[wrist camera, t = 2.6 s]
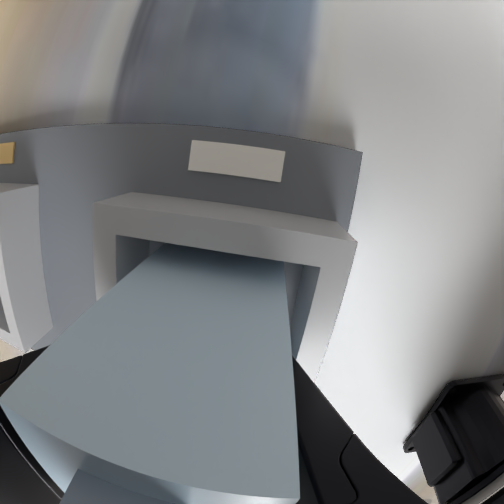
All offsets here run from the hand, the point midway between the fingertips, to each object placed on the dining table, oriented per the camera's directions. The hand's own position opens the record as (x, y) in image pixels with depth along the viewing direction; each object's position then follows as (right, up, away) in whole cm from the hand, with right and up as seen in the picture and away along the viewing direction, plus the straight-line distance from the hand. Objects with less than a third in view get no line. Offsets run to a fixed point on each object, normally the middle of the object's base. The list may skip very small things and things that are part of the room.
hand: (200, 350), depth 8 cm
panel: (-6, +2, +4) cm, 7 cm away
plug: (0, +1, +3) cm, 3 cm away
